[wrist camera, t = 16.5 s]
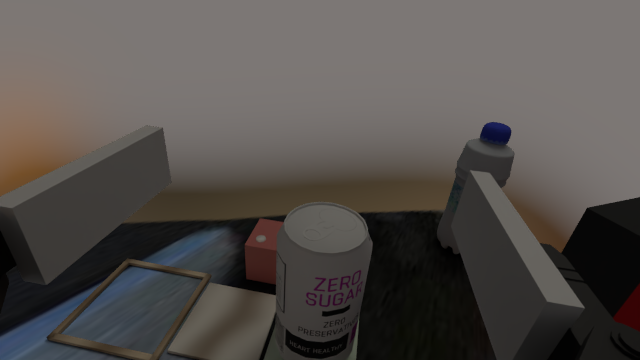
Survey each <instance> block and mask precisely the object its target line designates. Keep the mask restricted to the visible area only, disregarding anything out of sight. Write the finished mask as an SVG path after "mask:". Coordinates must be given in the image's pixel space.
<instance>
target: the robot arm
mask: <svg viewBox="0 0 640 360" xmlns="http://www.w3.org/2000/svg"><path fill="white" fill-rule="evenodd" d="M170 183H171V176H170V171H169V164H168V159H167V152H166V145H165V139H164V132H163V128H160V127H154V126H145V127H143V128H140V129H138V130H136V131H134V132H132V133H130V134H128V135H126V136H124V137H122V138H120V139H118V140H116V141H114V142H112V143H110V144H108V145H106V146H104V147H101V148H99V149H97V150H96V151H93V152H91V153H89V154H87V155H85V156H83V157H81V158H79V159H77V160H75V161H73V162H71V163H69V164H66V165H64V166H62V167H60V168H58V169H56V170H54V171H52V172H50V173H48V174H46V175H44V176H42V177H40V178H38V179H36V180H34V181H32V182H29V183H27V184H25V185H23V186H21V187H19V188H17V189H15V190H13V191H11V192H9V193H7V194H5V195H3V196H1V197H0V313H1V309H2V306H3V302H4V299H5V296H6V292H7V289H8V285H9V279H8V277H7V275H6V272H7V271H9V270H10V269H12V268H13V267H15V266H17V268H18V270H19V272H20V274H21V276H22V278H23V280H24V281H28V282H33V283H38V284H43V285H47V284H48V283H49V282H51V281H52V280H53V279H54V278H56V277H57V276H58V275H59V274H60V273H62V272H63V271H64V270H65V269H67V268H68V267H69V266H70V265H71V264H73V263H74V262H75V261H76V260H78V259H79V258H80V257H81V256H82V255H84V254H85V253H86V252H87V251H88V250H90V249H91V248H92V247H93V246H95V245H96V244H97V243H98V242H99V241H101V240H102V239H103V238H104V237H106V236H107V235H108V234H109V233H110V232H112V231H113V230H114V229H115V228H116V227H118V226H119V225H120V224H121V223H123V222H124V221H125V220H126V219H127V218H129V217H130V216H131V215H132V214H134V213H135V212H136V211H137V210H138V209H140V208H141V207H142V206H143V205H145V204H146V203H147V202H148V201H149V200H150V199H152V198H153V197H154V196H155V195H156V194H158V193H159V192H160V191H162V190H163V189H164V188H165V187H166V186H168V185H169V184H170ZM451 228H452V231H453V234H454V236H455V239H456V242H457V245H458V248H459V251H460V254H461V257H462V260H463V263H464V265H465V268H466V271H467V274H468V277H469V280H470V283H471V286H472V289H473V292H474V294H475V297H476V300H477V303H478V306H479V309H480V312H481V315H482V318H483V321H484V323H485V326H486V329H487V332H488V335H489V338H490V341H491V344H492V347H493V350H494V352H495V355H496V358H497V360H640V332H639V331H638V330H635V329H633V328H631V327H629V326H627V325H625V324H622V323H618V322H615V320H614V319H613V318H612V316H611V315H610V314H609V313H608V311H607V310H606V309H605V307H604V306H603V305H602V303H601V302H600V301H599V300H598V298H597V297H596V296H595V294H594V293H593V292H592V290H591V289H590V288H589V287H588V285H587V284H585V283H584V280H583V279H582V278H581V276H580V275H579V274H578V273H577V272H575V268H574V267H573V266H572V265H571V263H570V262H569V261H568V259H567V258H566V257H565V256H564V255H562V254H561V253H560V252H558V251H557V250H556V249H555V248H554V247H552V246H551V245H548V244H542V243H539V242H538V241H537V239H536V238H535V237H534V235H533V234H532V232H531V231H530V229H529V228H528V227H527V225H526V224H525V222H524V221H523V219H522V218H521V217H520V215H519V214H518V212H517V211H516V210H515V208H514V207H513V205H512V204H511V202H510V201H509V199H508V198H507V197H506V195H505V194H504V192H503V191H502V190H501V188H500V187H499V185H498V184H497V182H496V181H495V180H494V178H493V177H492V175H491V174H490V173H487V172H480V171H472V170H470V171H469V174H468V177H467V180H466V183H465V186H464V189H463V192H462V195H461V198H460V201H459V204H458V207H457V210H456V213H455V215H454V218H453V221H452V224H451Z"/></svg>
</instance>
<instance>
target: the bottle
mask: <svg viewBox="0 0 640 360" xmlns="http://www.w3.org/2000/svg"><path fill="white" fill-rule="evenodd" d="M510 136H511V129H510V127H508V126H507V125H504V124H501V123H497V122H491V123H487V124H486V125H484V127H483V129H482V132H481V135H480V138H479V139H473V140H470V141H468V142H467V143H466V146H465V148H464V150H463V152H462V154H461V156H460V158H459V160H458V161H457V168H456V169H455V173H456V178H455V181H454V184H453V187H452V191H451V193H450V197H449V200H448V203H447V206H446V209H445V211H444V213H443V216H442V218H441V221H440V223H439V226H438V230H437V238H438V240H439V241H441V246H442V247H443V248H445V249H446V248H448V246H450V247H452V249H453V253H454V254H459V253H460V251H459V248H458V245H457V242H456V239H455V236H454V234H453V231H452V228H451V224H452V221H453V218H454V215H455V213H456V210H457V207H458V204H459V201H460V198H461V195H462V192H463V189H464V186H465V183H466V180H467V177H468V174H469V171H470V170H472V171H480V172H487V173H490V174H491V175H492V177H493V178H494V180H495V181H496V182H497V184H498V185H499V187H500V188H502V187H503V186H505V184H506V180H507V179H508V178H509V176H510V171H511V166H512V163H513V158H514V151H513V150H512V149H511V148H510V147H508V146H507V145H506V144H507V143H508V141H509V139H510Z"/></svg>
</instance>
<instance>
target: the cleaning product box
mask: <svg viewBox="0 0 640 360" xmlns="http://www.w3.org/2000/svg"><path fill="white" fill-rule="evenodd" d="M561 254H562V255H564V256H565V257H566V258H567V259H568V261H569V262H570V263H571V265H572V266H573V267H574V268H575V272H577V273H578V274H579V275H580V276H581V278H582V279H583V280H584V283H585V284H587V285H588V287H589V288H590V289H591V290H592V292H593V293H594V294H595V296H596V297H597V298H598V300H599V301H600V302H601V303H602V305H603V306H604V307H605V309H606V310H607V311H608V313H609V314H610V315H611V316H612V318H613V319H614V320H615V322H618V323H622V324H625V325H627V326H629V327H631V328H633V329H635V330H638V331H639V332H640V197H639V198H634V199H629V200H624V201H619V202H615V203H609V204H604V205H599V206H594V207H589V208H587V209H586V211H585V213H584V214H583V216H582V218H581V220H580V221H579V223H578V225H577V227H576V228H575V230H574V232H573V234H572V235H571V237H570V239H569V241H568V242H567V244H566V246H565V248H564V249H563V251H562V253H561Z"/></svg>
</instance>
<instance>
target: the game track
mask: <svg viewBox="0 0 640 360" xmlns="http://www.w3.org/2000/svg"><path fill="white" fill-rule="evenodd" d="M128 265H133V266H138V267H143V268H148V269H154V270H159V271H164V272H169V273H174V274H180V275H185V276H190V277H195V278H200V279H203V280H202V281H201V283H200V284H199V286H198V287H197V289H196V290H195V292H194V293H193V295H192V296H191V298H190V299H189V301H188V302H187V304H186V305H185V307H184V308H183V310H182V311H181V313H180V314H179V316H178V317H177V319H176V320H175V322H174V323H173V325H172V326H171V328H170V329H169V331H168V332H167V334H166V335H165V337H164V338H163V340H162V341H161V343H160V344H159V346H158V347H157V349H156V350H155V352H154V353H153V355H152V354H148V353H143V352H139V351H134V350H130V349H126V348H121V347H117V346H112V345H108V344H103V343H99V342H94V341H90V340H85V339H81V338H77V337H72V336H68V335H63V334H61V333H62V332H63V331H64V330H65V329H66V328H67V327H68V326H69V325H70V324H71V323H72V322H73V321H74V320H75V319H76V318H77V317H78V316H79V315H80V314H81V313H82V312H83V311H84V310H85V309H86V308H87V307H88V306H89V305H90V304H91V303H92V302H93V301H94V300H95V299H96V298H97V297H98V296H99V295H100V294H101V293H102V292H103V291H104V290H105V289H106V288H107V287H108V286H109V285H110V284H111V283H112V282H113V281H114V280H115V279H116V278H117V277H118V275H119V274H120V273H121V272H122V271H123V270H124V269H125V268H126V267H127V266H128ZM210 278H211V274H206V273H201V272H196V271H190V270H185V269H180V268H175V267H169V266H164V265H159V264H154V263H148V262H143V261H138V260H133V259H126V260H125V261H124V262H123V263H122V264H121V265H120V266H119V267H118V268H117V269H116V270H115V271H114V272H113V273H112V274H111V275H110V276H109V277H108V278H107V279H106V280H105V281H104V282H103V283H102V284H101V285H100V286H99V287H98V288H97V289H96V290H95V291H94V292H93V293H92V294H91V295H90V296H89V297H87V298H86V299H85V300H84V301H83V302H82V303H81V304H80V305H79V306H78V307H77V308H76V309H75V310H74V311H73V312H72V313H71V314H70V315H69V316H68V317H67V318H66V319H65V320H64V321H63V322H62V323H61V324H60V325H59V326H58V327H57V328H56V329H55V330H54V331H53V332H52V333H51V334H50V335H48V336H47V339H48V340H51V341H55V342H60V343H64V344H68V345H73V346H77V347H82V348H86V349H90V350H95V351H99V352H103V353H108V354H112V355H117V356H121V357H125V358H130V359H134V360H158V359H159V358H160V356H161V355H162V353H163V352H164V350H165V348H166V347H167V345H168V344H169V342H170V341H171V339H172V337H173V336H174V334H175V333H176V331H177V330H178V328H179V327H180V325H181V323H182V322H183V320H184V319H185V317H186V316H187V314H188V312H189V311H190V309H191V308H192V306H193V305H194V303H195V302H196V300H197V298H198V297H199V295H200V294H201V292H202V291H203V289H204V287H205V286H206V284H207V283H208V281H209V280H210ZM275 314H276V295H271V294H265V293H260V292H255V291H250V290H245V289H240V288H234V287H229V286H224V285H219V284H214V283H210V284H209V285H208V287H207V288H206V290H205V292H204V293H203V295H202V296H201V298H200V299H199V301H198V303H197V304H196V306H195V307H194V309H193V311H192V312H191V314H190V315H189V317H188V318H187V320H186V322H185V323H184V325H183V326H182V328H181V330H180V331H179V333H178V334H177V336H176V337H175V339H174V341H173V342H172V344H171V345H170V347H169V349H168V350H167V351H168V353H171V354H176V355H180V356H185V357H189V358H194V359H198V360H259V359H260V356H261V354H262V351H263V348H264V345H265V342H266V339H267V336H268V334H269V331H270V328H271V325H272V322H273V319H274V316H275ZM358 325H359V318H358V324H357V329H356V334H355V339H354V344H353V349H352V352H351V354H350V355H349V357H348V358H347V360H356V352H357V338H358ZM264 360H284V359H283V358H282V357H281V356H280V353H279V351H278V348H277V346H276V325H275V328H274V331H273V334H272V336H271V339H270V342H269V345H268V348H267V351H266V354H265V357H264Z"/></svg>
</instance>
